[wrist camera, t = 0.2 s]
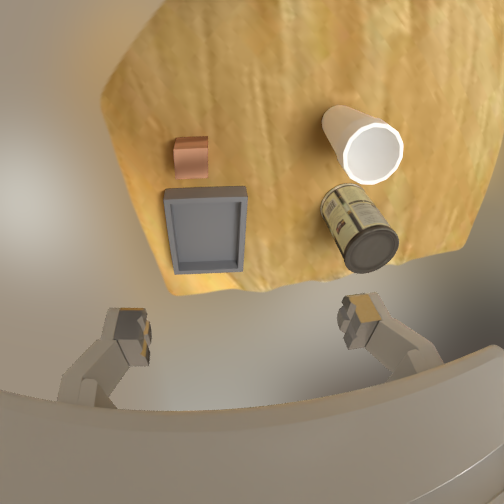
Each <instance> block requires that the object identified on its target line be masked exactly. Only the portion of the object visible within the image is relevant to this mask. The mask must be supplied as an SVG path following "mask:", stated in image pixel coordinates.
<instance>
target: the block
mask: <svg viewBox="0 0 504 504" xmlns="http://www.w3.org/2000/svg"><path fill="white" fill-rule="evenodd" d="M173 151H174V166H175V179H192V178H208V136H202V137H180V138H176V141H175V145H174V149H173Z"/></svg>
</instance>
